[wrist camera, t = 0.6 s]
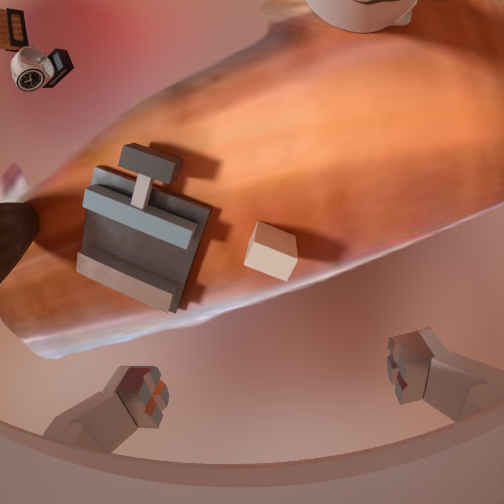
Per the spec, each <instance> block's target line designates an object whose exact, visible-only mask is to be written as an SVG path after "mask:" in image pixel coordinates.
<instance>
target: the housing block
mask: <svg viewBox="0 0 504 504" xmlns="http://www.w3.org/2000/svg"><path fill="white" fill-rule="evenodd" d="M297 261H298V254H297V246H296V238H295V236H294V235H292V234H290V233H287V232H285V231H282V230H280V229H278V228H275V227H273V226H270V225H268V224H265V223H263V222H260V221H258V222H257V224H256V227H255V229H254V231H253V234H252V236H251V238H250V241H249V245H248V249H247V253H246V257H245V262H244V265H246V266H248V267H251V268H253V269H256V270H258V271H261V272H264V273H266V274H269V275H271V276H274V277H276V278H279V279H282V280H284V281H287V280H288V278H289V276H290V274H291V272H292V270H293V268H294V266H295V264H296V263H297Z"/></svg>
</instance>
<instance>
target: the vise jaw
mask: <svg viewBox="0 0 504 504" xmlns="http://www.w3.org/2000/svg"><path fill="white" fill-rule="evenodd" d="M182 162H183V159H180V158H177V157H174V156H171V155H169V154H166V153H163V152H160V151H157V150H154V149H151V148H148V147H145V146H142V145H139V144H136V143H131V144H127V145H123V149H122V152H121V156H120V160H119V164H118V166H120V167H122V168H125V169H128V170H131V171H133V172H136V173H138V177H137V181H136V185H135V189H134V193H133V197H132V198H130V197H128V196H125V195H123V194H120V193H117V192H115V191H112V190H110V189H107V188H105V187H102V186H99V185H97V184H94V185H92V186H90V187H88V188H85V193H84V199H83V205H82V207H84V208H87V209H89V210H91V211H94V212H96V213H98V214H101V215H103V216H106V217H108V218H110V219H113V220H115V221H118V222H120V223H122V224H125V225H127V226H130V227H132V228H134V229H137V230H139V231H142V232H144V233H147V234H149V235H151V236H154V237H156V238H159V239H161V240H164V241H166V242H169V243H171V244H174V245H176V246H179V247H181V248H184V249H186V250H187V248H188V247H189V245H190V244H191V242H192V240H193V237H194V234H195V231H196V228H197V225H198V224H197V223H194V222H192V221H189V220H186V219H184V218H181V217H179V216H176V215H174V214H171V213H169V212H166V211H164V210H161V209H158V208H156V207H153V206H151V205H148V200H149V196H150V193H151V189H152V185H153V182H154V179H155V180H158V181H161V182H163V183H166V184H170V183H172V182H173V181H175V180H177V177H178V174H179V171H180V168H181V165H182Z"/></svg>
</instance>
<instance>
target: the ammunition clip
mask: <svg viewBox="0 0 504 504" xmlns="http://www.w3.org/2000/svg"><path fill="white" fill-rule="evenodd" d="M26 46H28V47H29V44H28V39H27V33H26V26H25V21H24V12H23V11H21V10H15V9H9V8H7V9H6V10H5V9H0V49H5V51H12V52H19V51H20V50H21V48H23V47H26Z"/></svg>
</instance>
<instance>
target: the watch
mask: <svg viewBox="0 0 504 504" xmlns="http://www.w3.org/2000/svg"><path fill="white" fill-rule="evenodd" d="M21 56H22V57H24V58H25V59H27V60H30V61H32V62H33V63H35V64H30V63H28V62H24V63H22V61H21ZM73 68H74V66H73V64H72V62H71V59H70V57H69V54H68V52H67V50H62V49H55V50H54V51H53V52H52V53H51V54H50V55H49V56H46V54H45V53H44V52H43V51H41V50H39V49H37V48H35V47H32V46H31V47H28V46H26V47H23V48H21V50H20V51H19V52H18V53H17V54H16V56H15V57H14V58H13V59H12V61H11V71H12V74H13V79H14V80H15V82H16V85H17V87H18V88H19V89H20V90H21V91H24V92H31V91H35V90H38V89H40V88H53V87H54V86H55V85H56V84H57V83H58V82H59V81H60V80H61V79H63V77H65V76H66V75H67V74H68V73H69V72H70V71H71V70H72V69H73Z"/></svg>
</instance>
